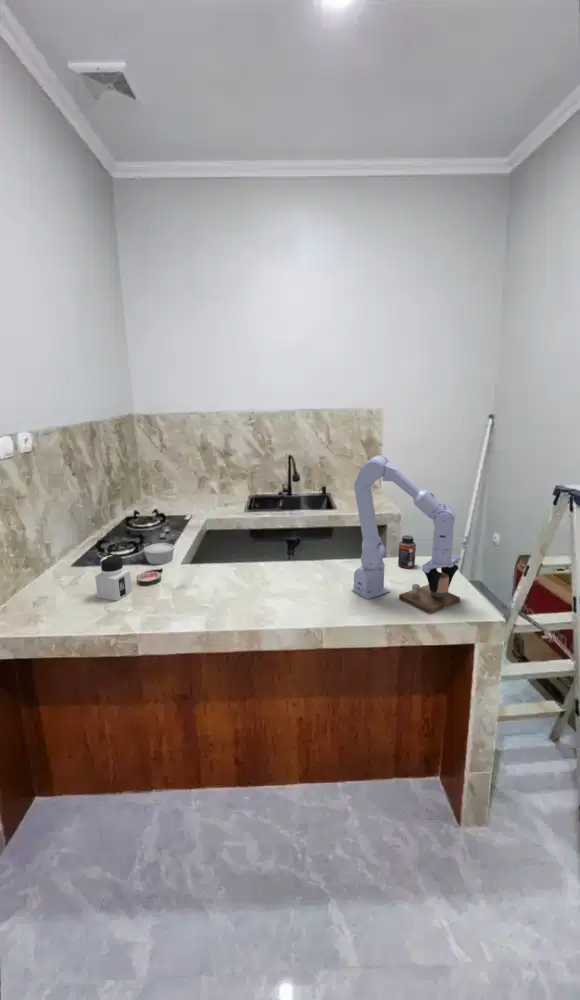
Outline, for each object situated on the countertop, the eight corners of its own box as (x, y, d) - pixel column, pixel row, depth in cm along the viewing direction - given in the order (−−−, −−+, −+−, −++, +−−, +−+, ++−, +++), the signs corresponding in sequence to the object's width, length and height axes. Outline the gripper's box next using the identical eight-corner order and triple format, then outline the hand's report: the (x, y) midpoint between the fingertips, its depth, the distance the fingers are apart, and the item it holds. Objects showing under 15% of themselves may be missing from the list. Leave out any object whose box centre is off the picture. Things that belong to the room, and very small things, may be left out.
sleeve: (439, 598, 143) (441, 580, 141) (426, 592, 147) (427, 574, 145) (451, 594, 145) (452, 576, 144) (438, 588, 149) (439, 571, 148)
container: (132, 591, 156) (128, 554, 153) (117, 601, 149) (112, 563, 146) (113, 588, 159) (109, 552, 156) (97, 598, 152) (92, 560, 149)
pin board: (428, 614, 139) (429, 598, 137) (398, 598, 148) (399, 584, 147) (459, 601, 146) (461, 587, 145) (429, 588, 156) (430, 574, 155)
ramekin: (181, 558, 185) (180, 545, 184) (159, 567, 176) (158, 554, 175) (161, 553, 191) (159, 541, 190) (139, 562, 182) (137, 549, 181)
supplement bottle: (415, 569, 171) (416, 540, 168) (398, 568, 172) (399, 539, 170) (414, 563, 177) (415, 534, 174) (397, 562, 178) (399, 533, 175)
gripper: (436, 556, 135) (433, 599, 139) (469, 546, 143) (465, 587, 146) (417, 549, 141) (415, 590, 144) (450, 539, 149) (447, 579, 152)
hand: (439, 588), depth 146 cm, fingers closed on sleeve, 5 cm apart
